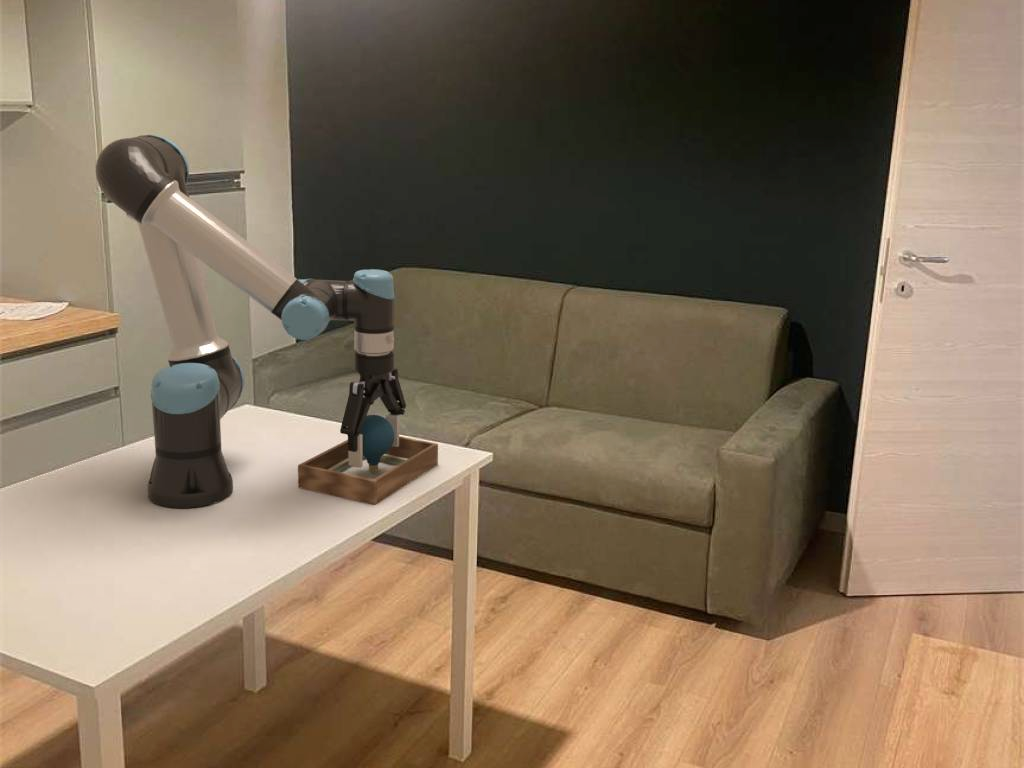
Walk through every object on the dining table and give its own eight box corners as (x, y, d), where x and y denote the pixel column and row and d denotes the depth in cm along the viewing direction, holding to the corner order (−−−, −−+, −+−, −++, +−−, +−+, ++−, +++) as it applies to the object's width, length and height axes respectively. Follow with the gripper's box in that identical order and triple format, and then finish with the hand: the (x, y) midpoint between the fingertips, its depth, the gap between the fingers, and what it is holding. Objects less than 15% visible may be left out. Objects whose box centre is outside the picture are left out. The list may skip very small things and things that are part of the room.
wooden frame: (298, 487, 200) (297, 465, 199) (366, 450, 221) (366, 429, 220) (374, 504, 194) (374, 481, 192) (437, 464, 215) (438, 443, 213)
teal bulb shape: (392, 481, 205) (391, 423, 201) (349, 480, 205) (347, 422, 201) (397, 466, 213) (396, 409, 209) (356, 465, 213) (354, 408, 209)
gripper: (355, 368, 189) (355, 478, 195) (423, 340, 211) (422, 440, 217) (320, 362, 192) (322, 471, 198) (391, 335, 214) (391, 434, 220)
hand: (374, 455), depth 208 cm, fingers open, 13 cm apart
